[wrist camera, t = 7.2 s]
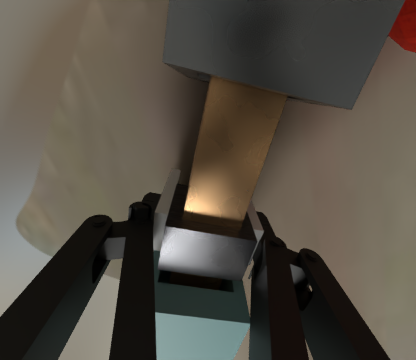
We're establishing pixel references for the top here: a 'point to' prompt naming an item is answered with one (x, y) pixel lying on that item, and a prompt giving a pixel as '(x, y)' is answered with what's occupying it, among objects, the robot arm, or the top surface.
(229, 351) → the socket block
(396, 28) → the apple
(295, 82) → the sleeve
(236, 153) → the collared tan post
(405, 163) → the top surface
